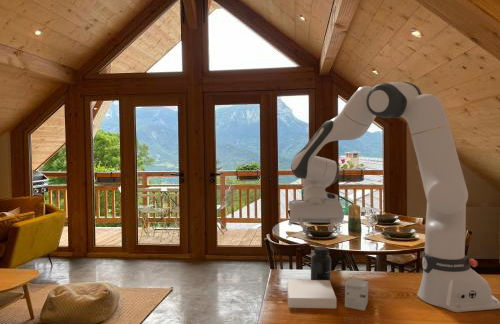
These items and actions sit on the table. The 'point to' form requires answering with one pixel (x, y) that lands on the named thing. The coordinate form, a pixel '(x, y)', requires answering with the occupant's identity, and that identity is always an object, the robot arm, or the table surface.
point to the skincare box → (356, 293)
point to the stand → (310, 294)
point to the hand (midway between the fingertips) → (317, 231)
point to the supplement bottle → (321, 264)
